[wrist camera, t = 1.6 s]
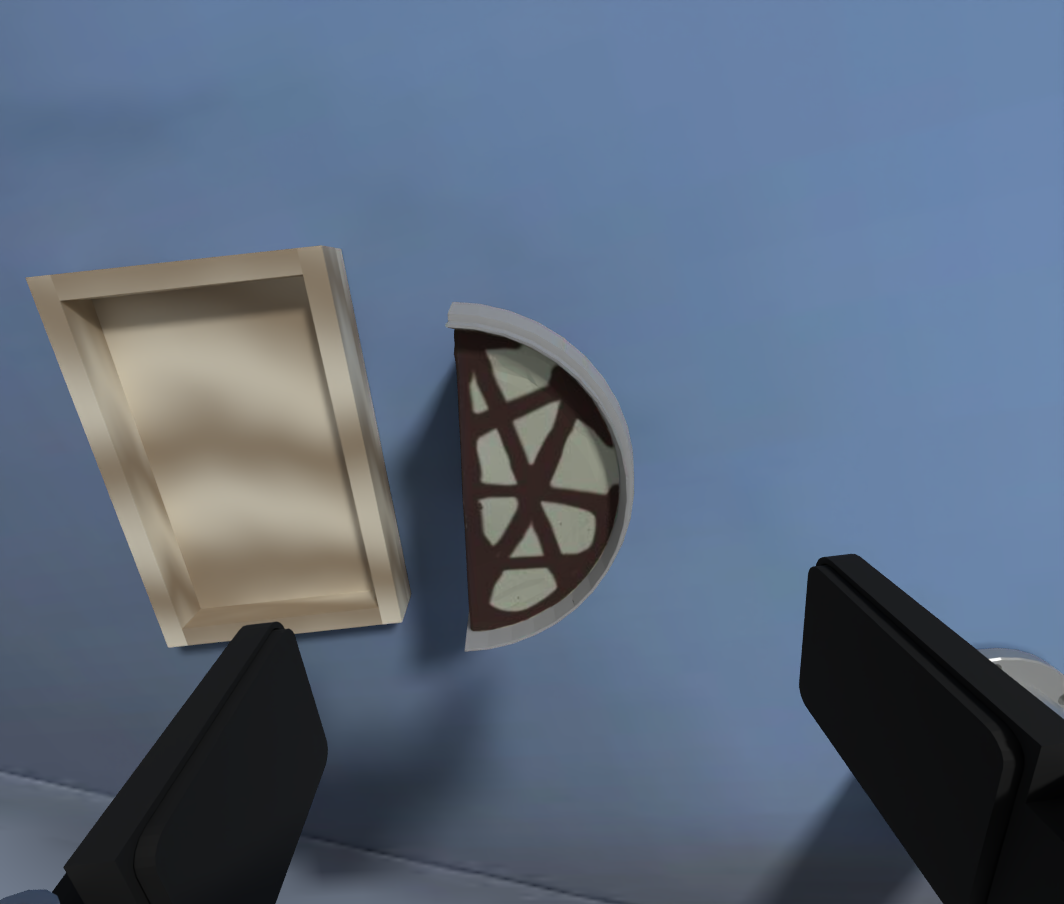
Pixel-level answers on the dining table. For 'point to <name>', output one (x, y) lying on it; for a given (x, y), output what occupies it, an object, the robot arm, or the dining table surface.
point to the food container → (534, 473)
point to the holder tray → (234, 438)
